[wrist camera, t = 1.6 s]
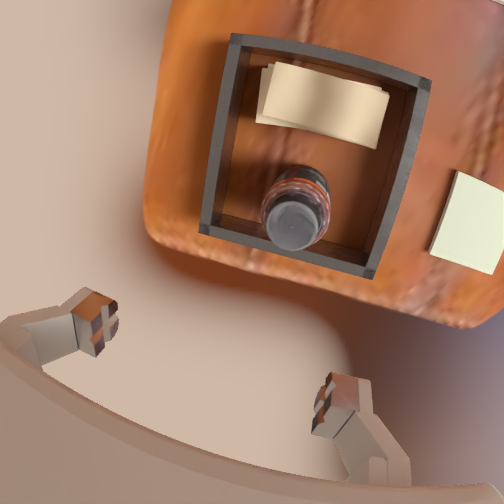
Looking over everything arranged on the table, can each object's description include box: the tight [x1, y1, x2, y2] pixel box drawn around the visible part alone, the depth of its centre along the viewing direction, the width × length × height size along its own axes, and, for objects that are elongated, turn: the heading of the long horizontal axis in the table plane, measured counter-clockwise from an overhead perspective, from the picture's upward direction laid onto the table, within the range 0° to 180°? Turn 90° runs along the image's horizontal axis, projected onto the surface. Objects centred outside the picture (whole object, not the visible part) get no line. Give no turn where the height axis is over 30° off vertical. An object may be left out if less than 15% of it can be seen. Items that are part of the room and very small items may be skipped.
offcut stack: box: [256, 62, 390, 149], centre depth 27 cm, size 12×6×6 cm, turn 79°
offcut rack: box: [199, 33, 432, 280], centre depth 29 cm, size 19×21×4 cm
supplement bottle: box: [260, 165, 331, 251], centre depth 28 cm, size 6×6×11 cm
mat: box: [428, 170, 504, 275], centre depth 29 cm, size 10×10×1 cm
